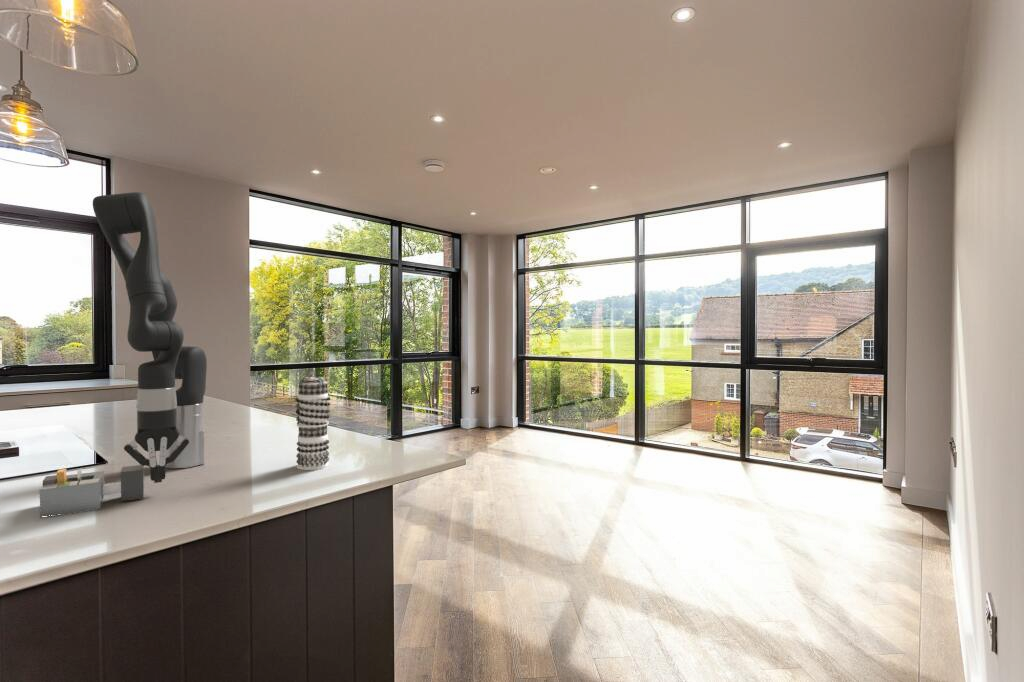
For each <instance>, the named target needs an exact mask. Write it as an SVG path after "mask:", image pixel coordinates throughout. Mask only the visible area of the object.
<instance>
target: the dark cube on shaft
mask: <svg viewBox="0 0 1024 682" xmlns="http://www.w3.org/2000/svg"><path fill="white" fill-rule="evenodd" d="M82 471H83V469H82V468H78V469H77V473H76V474H77V480H78V481H79V480H80V481H81V480H82V474H83V472H82ZM117 494H120V501H121V502H126V501H127V502H128V501H134V500H139V499H140V500H142V499H144V498H145V497H144V496H145V465H144V466H142V465H141V464H138V465H129V466H122V467H121V471H120V481H118V482H116V481H115V482H109V483H105V484H102V485H101V496H103V495H105V496H109V495H117Z"/></svg>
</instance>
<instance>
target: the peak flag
mask: <svg viewBox="0 0 1024 682" xmlns="http://www.w3.org/2000/svg"><path fill="white" fill-rule="evenodd" d="M56 475H57V483H62V482H66V475H67V468H61V469H58V470H57V471H56Z"/></svg>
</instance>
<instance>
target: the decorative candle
mask: <svg viewBox="0 0 1024 682" xmlns="http://www.w3.org/2000/svg"><path fill="white" fill-rule="evenodd" d="M328 384H329V382H328V381H326V379H325V378H324V377H323V376H306V377H302V378H301V379H300V380H299V382H297V385H298V394H297V397H295V398H294V401H296V404H295V409H296V411H295V414H296V415H297V416H296V418H295V420H296V426H297V427H298V435H297V442H296V446H297V447H296V451H297V454H296V458H297V459H296V463H297V465H296V468H297V470H302V471H315V470H320V469H325V468H328V466H329V464H330V463H329V460H330V457H329V456H330V452H329V448H330V446H329V444H330V440H329V438H328V436H329V435H328V425H329V424H330V423H329V421H328V419H329V418H331V417H330V415H329V413H330V411H331V410H329V409H328V408H327V407H329V406H331V402H329V401H330V400H331V397H329V395H328ZM327 401H328V402H327Z"/></svg>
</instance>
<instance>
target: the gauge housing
mask: <svg viewBox="0 0 1024 682" xmlns="http://www.w3.org/2000/svg"><path fill="white" fill-rule="evenodd" d="M105 482H106V481H105V470H102V471H93V472H84V473H83V472H82V480H81V481H80V480H79V481H78V480H77V473H76V474H68V475H67V474H66V482H62V483H57V474H55V475H48V476H45V477H44V478H43V480H42V486H41V487H40V488H39V518H40V517H42V516H49V515H50V516H51V515H58V514H65V515H69V514H68V513H72V514H75V513H74V512H79V513H81V512H80V511H85V512H88V511H87V510H92V511H97V509H99V510H101V508H102V505H103V503H102V502H104V500H105V497H106V495H103V496H101V485H102V484H106V483H105ZM104 496H105V497H104ZM103 499H104V500H103Z"/></svg>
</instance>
